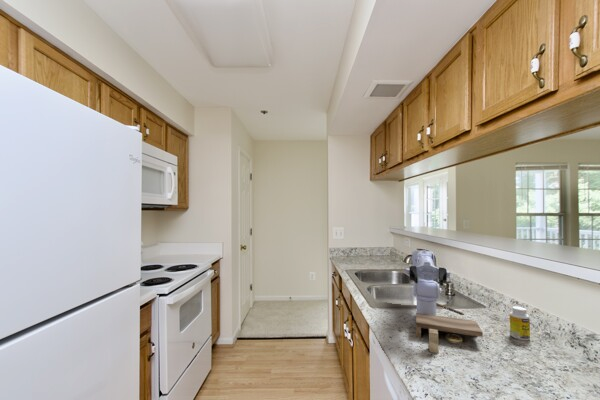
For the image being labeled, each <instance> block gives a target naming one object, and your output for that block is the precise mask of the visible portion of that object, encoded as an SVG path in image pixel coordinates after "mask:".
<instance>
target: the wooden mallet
mask: <svg viewBox="0 0 600 400" xmlns="http://www.w3.org/2000/svg"><path fill="white" fill-rule="evenodd" d="M428 345H429V347H428V348H429V352H431V353H436V354H439V353H440V352H439V331H438V330H435V329H428Z"/></svg>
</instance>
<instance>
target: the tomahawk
mask: <svg viewBox="0 0 600 400" xmlns="http://www.w3.org/2000/svg"><path fill="white" fill-rule="evenodd" d="M436 306H439V307H440V306H442V307H441V308H443V307H444V308H443V309H446V308H447V309H446V310H448V309H449V310H448V311H451V312H453V311H454V313H456V314H458V313H459V314H458V315H461V316H464V315H465V313H464V312H461V311H459V310H456V309H454V308H451V307H448V306H445V305H444V304H440V303H439V302H436Z"/></svg>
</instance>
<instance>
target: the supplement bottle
mask: <svg viewBox="0 0 600 400" xmlns="http://www.w3.org/2000/svg"><path fill="white" fill-rule="evenodd" d="M527 313H528V312H527V309H526V308H524V307H522V306H512V308H511V311H510V312H509V335H510V336H511V337H512V338H513V339H517V340H520V341H529V340H530V339H531V327H530V326H531V324H530V323H531V322H530V321H531V320H530V315H529V314H527Z"/></svg>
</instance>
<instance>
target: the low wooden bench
mask: <svg viewBox="0 0 600 400" xmlns="http://www.w3.org/2000/svg"><path fill="white" fill-rule="evenodd" d="M422 329H424V330H429V329H435V330H438V332H443V333H448V334H456V335H462V336H471V337H481V338H483V336H484V335H483V333H484V331H482V329H481V326H480V325H479V324H478V322H477V321H476V320H472V319H471V320H470V319H465V318H457V317H449V316H441V315H436V316H435V315H428V314H420V313H417V312H415V330H416V331H415V335H416V338H419V339H420V338H422Z"/></svg>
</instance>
